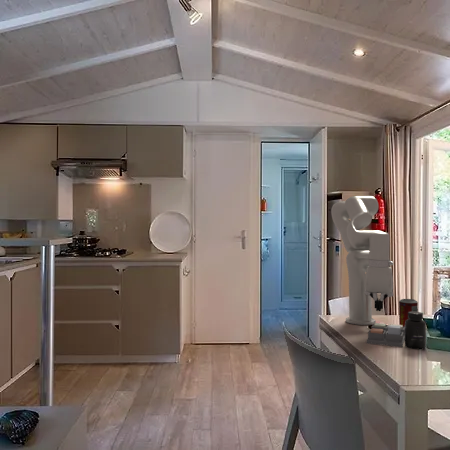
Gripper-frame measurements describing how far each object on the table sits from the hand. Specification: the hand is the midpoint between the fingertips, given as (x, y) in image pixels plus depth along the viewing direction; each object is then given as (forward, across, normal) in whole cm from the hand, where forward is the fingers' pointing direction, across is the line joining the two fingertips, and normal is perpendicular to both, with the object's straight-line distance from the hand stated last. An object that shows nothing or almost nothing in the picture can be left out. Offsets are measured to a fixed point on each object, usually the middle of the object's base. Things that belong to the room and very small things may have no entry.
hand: (378, 310), depth 171 cm
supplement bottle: (+8, -14, +15) cm, 22 cm away
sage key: (+8, -1, +2) cm, 8 cm away
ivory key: (+7, -7, +2) cm, 10 cm away
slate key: (+5, -7, +11) cm, 14 cm away
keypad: (+9, -4, +7) cm, 12 cm away
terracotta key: (+7, -1, +12) cm, 14 cm away
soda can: (+10, -10, -11) cm, 18 cm away
